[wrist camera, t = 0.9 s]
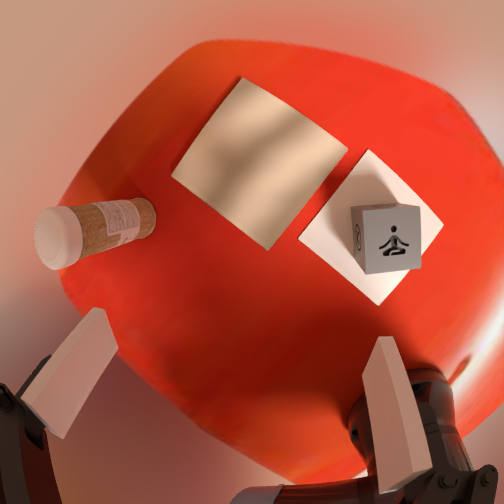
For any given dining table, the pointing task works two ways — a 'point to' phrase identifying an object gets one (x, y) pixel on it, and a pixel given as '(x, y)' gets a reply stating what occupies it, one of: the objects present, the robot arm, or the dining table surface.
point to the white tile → (340, 223)
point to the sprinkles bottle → (90, 229)
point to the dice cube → (386, 237)
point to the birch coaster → (258, 162)
